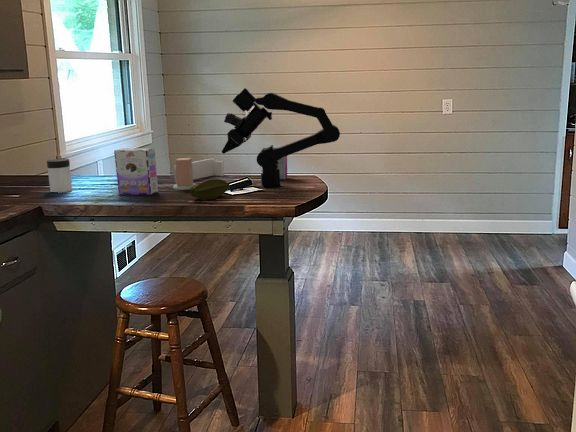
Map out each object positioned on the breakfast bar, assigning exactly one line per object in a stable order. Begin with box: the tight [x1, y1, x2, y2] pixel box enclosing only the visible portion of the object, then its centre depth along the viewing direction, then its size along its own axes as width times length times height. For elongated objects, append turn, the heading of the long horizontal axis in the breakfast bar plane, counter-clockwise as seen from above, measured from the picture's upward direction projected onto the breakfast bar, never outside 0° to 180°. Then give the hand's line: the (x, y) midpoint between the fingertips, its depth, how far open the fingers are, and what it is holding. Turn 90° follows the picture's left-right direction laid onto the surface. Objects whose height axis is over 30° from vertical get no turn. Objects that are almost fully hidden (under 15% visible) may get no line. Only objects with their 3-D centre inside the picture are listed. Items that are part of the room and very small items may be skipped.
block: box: [174, 157, 194, 187], centre depth 237 cm, size 5×5×10 cm
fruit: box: [189, 178, 230, 201], centre depth 216 cm, size 11×12×7 cm
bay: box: [173, 157, 225, 184], centre depth 256 cm, size 6×22×7 cm, turn 143°
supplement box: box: [277, 156, 288, 181], centre depth 249 cm, size 6×6×12 cm
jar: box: [46, 158, 73, 194], centre depth 241 cm, size 9×8×12 cm
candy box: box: [113, 147, 159, 196], centre depth 229 cm, size 14×6×16 cm, turn 71°
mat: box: [172, 182, 196, 191], centre depth 238 cm, size 9×9×1 cm
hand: (225, 151), depth 233 cm, fingers open, 9 cm apart
